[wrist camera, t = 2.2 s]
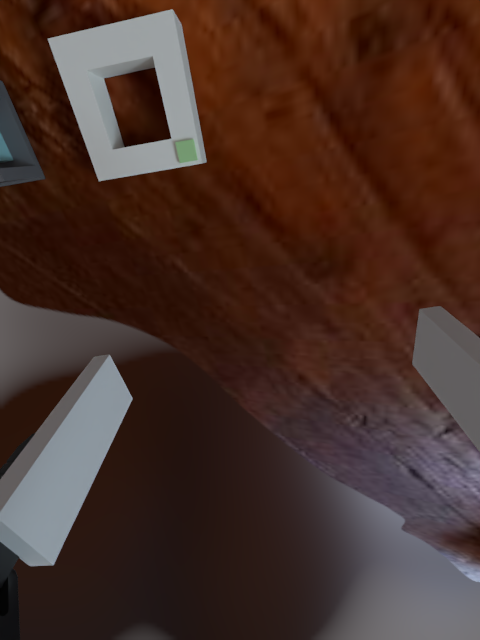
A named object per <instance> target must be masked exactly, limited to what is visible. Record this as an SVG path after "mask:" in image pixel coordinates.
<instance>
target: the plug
mask: <svg viewBox="0 0 480 640" xmlns="http://www.w3.org/2000/svg"><path fill="white" fill-rule="evenodd" d="M8 161H13V158H12V156H11V154H10V152H9V150H8V148H7V145H6V143H5V141H4V139H3V137H2V135H1V133H0V163H3V162H8Z"/></svg>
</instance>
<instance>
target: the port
mask: <svg viewBox="0 0 480 640" xmlns="http://www.w3.org/2000/svg"><path fill="white" fill-rule="evenodd" d="M48 42H49V44H50V47H51V50H52V53H53V55H54V58H55V61H56V64H57V67H58V69H59V72H60V75H61V78H62V80H63V83H64V86H65V89H66V92H67V94H68V97H69V100H70V103H71V105H72V108H73V111H74V114H75V117H76V119H77V122H78V125H79V128H80V130H81V133H82V136H83V139H84V141H85V144H86V147H87V150H88V153H89V155H90V158H91V161H92V164H93V166H94V169H95V172H96V175H97V178H98V180H99V181H103V180H109V179H115V178H120V177H126V176H132V175H138V174H144V173H150V172H155V171H161V170H167V169H173V168H179V167H184V166H190V165H196V164H202V163H206V162H207V161H206V156H205V150H204V145H203V139H202V134H201V128H200V123H199V117H198V112H197V106H196V101H195V96H194V90H193V85H192V79H191V74H190V68H189V63H188V57H187V52H186V46H185V41H184V35H183V30H182V25H181V23H180V21H179V19H178V18H177V16H176V14H175V12H174V11H173V9H172V10H167V11H163V12H159V13H155V14H150V15H146V16H142V17H138V18H133V19H129V20H125V21H121V22H116V23H112V24H108V25H104V26H99V27H95V28H91V29H87V30H82V31H78V32H74V33H70V34H65V35H61V36H57V37H53V38H48ZM150 68H155V69H156V73H157V78H158V82H159V86H160V91H161V95H162V100H163V104H164V108H165V113H166V117H167V121H168V126H169V130H170V134H171V139H168V140H162V141H157V142H151V143H146V144H140V145H135V146H130V147H124V144H123V141H122V137H121V134H120V131H119V127H118V124H117V121H116V118H115V114H114V111H113V108H112V104H111V101H110V98H109V94H108V91H107V88H106V85H105V81H104V78H108V77H113V76H117V75H122V74H127V73H132V72H136V71H141V70H146V69H150Z"/></svg>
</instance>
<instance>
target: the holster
mask: <svg viewBox="0 0 480 640" xmlns="http://www.w3.org/2000/svg"><path fill="white" fill-rule="evenodd" d="M0 133H1V135H2V137H3V139H4V141H5V143H6V145H7V148H8V150H9V152H10V154H11V156H12V158H13V161H8V162H3V163H0V187H2V186H7V185H13V184H19V183H24V182H30V181H36V180H41V179H45V176H44V174H43V172H42V170H41V167H40V165H39V163H38V161H37V158H36V156H35V154H34V152H33V149H32V147H31V145H30V142H29V140H28V138H27V136H26V133H25V131H24V129H23V127H22V124H21V122H20V120H19V118H18V115H17V113H16V111H15V109H14V106H13V104H12V102H11V100H10V97H9V95H8V93H7V91H6V88H5V86H4V84H3V82H2V81H0Z"/></svg>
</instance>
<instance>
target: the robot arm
mask: <svg viewBox="0 0 480 640" xmlns="http://www.w3.org/2000/svg"><path fill="white" fill-rule="evenodd" d="M412 364H413V365H414V367H415V368H416V369H417V371H418V372H419V373H420V374H421V376H422V377H423V378H424V380H425V381H426V382H427V384H428V385H429V386H430V388H431V389H432V390H433V391H434V393H435V394H436V395H437V397H438V398H439V399H440V401H441V402H442V403H443V405H444V406H445V407H446V408H447V410H448V411H449V412H450V414H451V415H452V416H453V418H454V419H455V420H456V422H457V423H458V424H459V425H460V427H461V428H462V429H463V431H464V432H465V433H466V435H467V436H468V437H469V439H470V440H471V441H472V442H473V444H474V445H475V446H476V448H477V449H478V450H479V452H480V338H479V337H478V336H477V335H475V334H474V333H473V332H472V331H470V330H469V329H468V328H467V327H466V326H464V325H463V324H462V323H461V322H459V321H458V320H457V319H456V318H454V317H453V316H452V315H451V314H450V313H448V312H447V311H446V310H445V309H443V308H442V307H441V306H438V307H431V308H424V309H419V317H418V324H417V332H416V339H415V347H414V354H413V362H412ZM131 401H132V396H131V394H130V393H129V391H128V389H127V387H126V385H125V383H124V381H123V379H122V377H121V375H120V374H119V372H118V370H117V368H116V366H115V364H114V362H113V360H112V358H111V356H110V355H103V356H96V357H93V359H92V360H91V361H90V362H89V364H88V365H87V366H86V368H85V369H84V370H83V372H82V373H81V374H80V376H79V377H78V378H77V380H76V381H75V382H74V384H73V385H72V386H71V388H70V389H69V390H68V391H67V393H66V394H65V395H64V397H63V398H62V399H61V401H60V402H59V403H58V404H57V406H56V407H55V408H54V410H53V411H52V412H51V414H50V415H49V416H48V418H47V419H46V420H45V421H44V423H43V424H42V425H41V427H40V428H39V429H38V431H37V432H36V433H34V434H32V435H31V436H30V437H29V438H27V439H26V440H25V441H24V442H23V443H22V444H21V445H19V446H18V448H17V449H16V450H15V451H14V453H13V454H12V455H11V456H10V458H9V459H8V460H7V463H6V464H4V465H3V466H2V468H1V469H0V640H20V627H19V601H18V577H17V574H16V571H15V570H14V569H12V568H13V567H14V565H15V563H16V561H17V560H18V558H20V559H22V560H23V561H24V562H25V563H27V564H28V565H29V566H45V565H53V564H54V563H55V560H56V558H57V556H58V554H59V552H60V550H61V548H62V546H63V543H64V542H65V539H66V537H67V535H68V533H69V531H70V529H71V526H72V525H73V523H74V520H75V518H76V516H77V514H78V512H79V510H80V508H81V506H82V504H83V502H84V500H85V497H86V495H87V493H88V491H89V489H90V487H91V485H92V483H93V481H94V479H95V476H96V474H97V472H98V470H99V468H100V466H101V463H102V462H103V460H104V458H105V455H106V453H107V451H108V449H109V447H110V445H111V443H112V441H113V439H114V437H115V435H116V432H117V430H118V428H119V426H120V424H121V422H122V420H123V418H124V416H125V413H126V411H127V409H128V407H129V405H130V403H131Z"/></svg>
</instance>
